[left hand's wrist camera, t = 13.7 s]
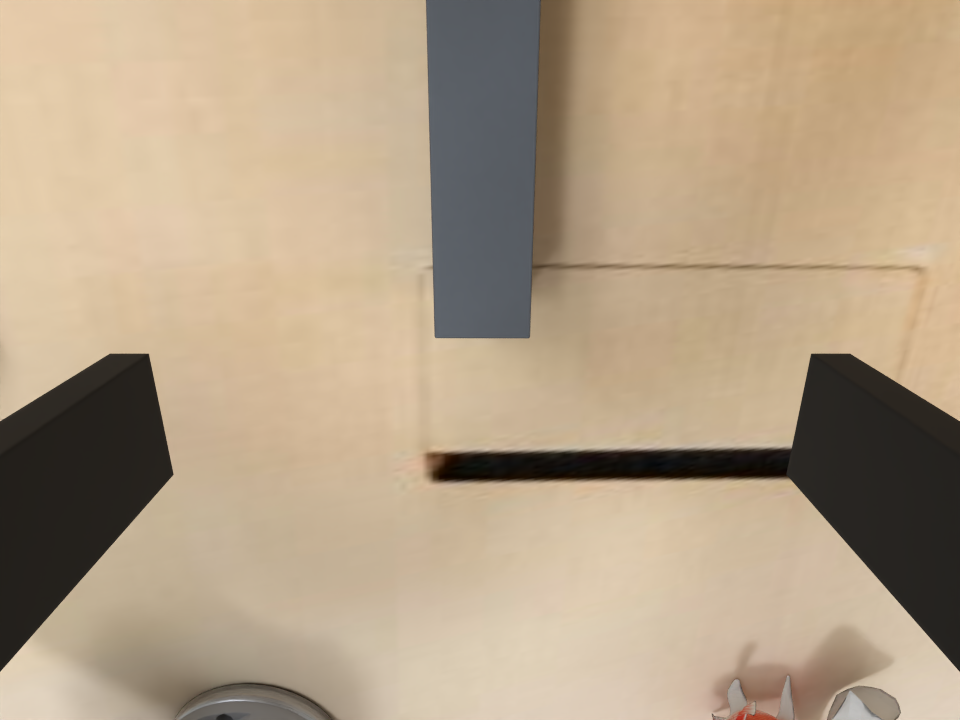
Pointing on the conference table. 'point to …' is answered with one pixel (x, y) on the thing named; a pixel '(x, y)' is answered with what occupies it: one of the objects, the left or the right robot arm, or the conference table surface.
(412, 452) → the conference table surface
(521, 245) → the bar
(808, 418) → the left robot arm
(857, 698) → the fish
